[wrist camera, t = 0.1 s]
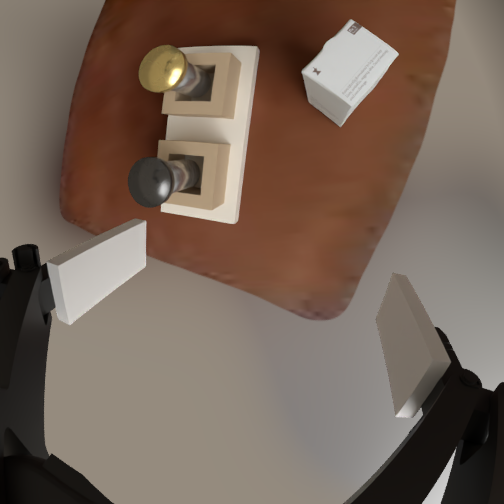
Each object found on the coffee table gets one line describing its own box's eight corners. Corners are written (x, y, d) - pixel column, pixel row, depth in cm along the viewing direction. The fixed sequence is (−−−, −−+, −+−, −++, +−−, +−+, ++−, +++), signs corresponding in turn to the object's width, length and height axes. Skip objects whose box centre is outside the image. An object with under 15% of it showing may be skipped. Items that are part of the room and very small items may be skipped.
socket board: (183, 51, 36) (162, 38, 29) (259, 50, 34) (248, 33, 27) (167, 208, 45) (143, 219, 39) (237, 220, 43) (223, 234, 37)
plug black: (171, 152, 36) (129, 156, 27) (207, 155, 35) (171, 159, 26) (168, 190, 38) (127, 204, 29) (203, 195, 37) (168, 210, 28)
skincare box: (340, 127, 36) (352, 114, 22) (305, 100, 35) (297, 73, 22) (375, 86, 32) (403, 54, 19) (340, 59, 32) (350, 15, 18)
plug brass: (181, 66, 31) (142, 48, 23) (218, 65, 30) (187, 42, 22) (176, 102, 33) (135, 93, 24) (213, 103, 32) (179, 90, 24)
